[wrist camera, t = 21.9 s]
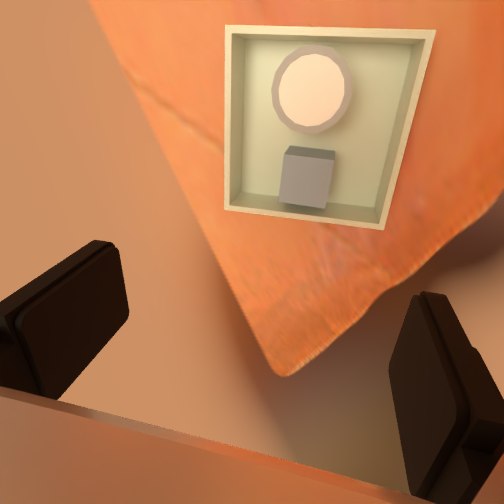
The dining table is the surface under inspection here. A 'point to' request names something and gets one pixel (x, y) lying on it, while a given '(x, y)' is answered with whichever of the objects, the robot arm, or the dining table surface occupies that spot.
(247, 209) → the tote
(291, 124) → the shot glass
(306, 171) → the cube
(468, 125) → the dining table surface
